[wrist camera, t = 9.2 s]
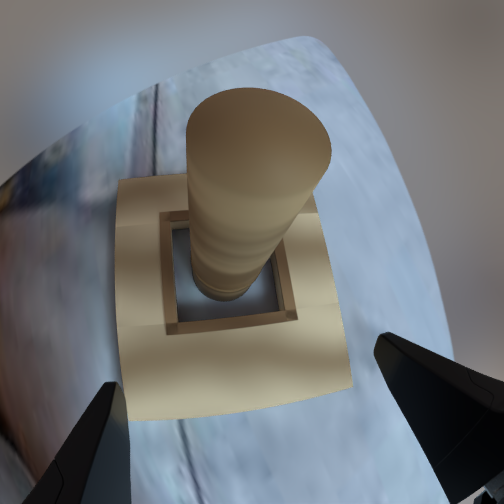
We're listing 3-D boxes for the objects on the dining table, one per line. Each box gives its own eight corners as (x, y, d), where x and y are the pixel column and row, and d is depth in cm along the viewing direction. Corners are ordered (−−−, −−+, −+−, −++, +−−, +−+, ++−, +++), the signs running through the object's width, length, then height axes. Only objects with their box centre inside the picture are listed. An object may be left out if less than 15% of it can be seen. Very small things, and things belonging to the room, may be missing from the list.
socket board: (344, 385, 18) (354, 386, 17) (133, 417, 15) (128, 421, 14) (301, 178, 23) (306, 168, 22) (122, 188, 20) (118, 178, 19)
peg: (258, 298, 19) (351, 195, 7) (195, 305, 18) (186, 201, 6) (249, 240, 21) (311, 91, 9) (189, 244, 20) (184, 87, 8)
